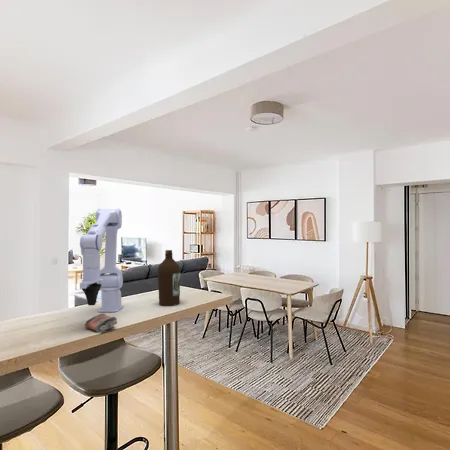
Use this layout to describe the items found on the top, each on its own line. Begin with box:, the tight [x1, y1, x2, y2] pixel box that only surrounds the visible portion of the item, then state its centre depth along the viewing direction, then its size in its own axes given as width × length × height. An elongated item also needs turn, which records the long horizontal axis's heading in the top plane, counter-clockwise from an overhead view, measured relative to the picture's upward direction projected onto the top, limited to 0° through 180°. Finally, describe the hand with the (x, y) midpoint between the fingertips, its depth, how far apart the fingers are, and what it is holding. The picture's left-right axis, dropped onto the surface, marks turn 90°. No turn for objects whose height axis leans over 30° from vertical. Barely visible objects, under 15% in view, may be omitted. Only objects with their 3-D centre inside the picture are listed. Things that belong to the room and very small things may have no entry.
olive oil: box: [156, 249, 181, 307], centre depth 149 cm, size 11×11×25 cm
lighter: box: [84, 313, 118, 333], centre depth 113 cm, size 8×3×10 cm
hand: (91, 304), depth 115 cm, fingers closed
